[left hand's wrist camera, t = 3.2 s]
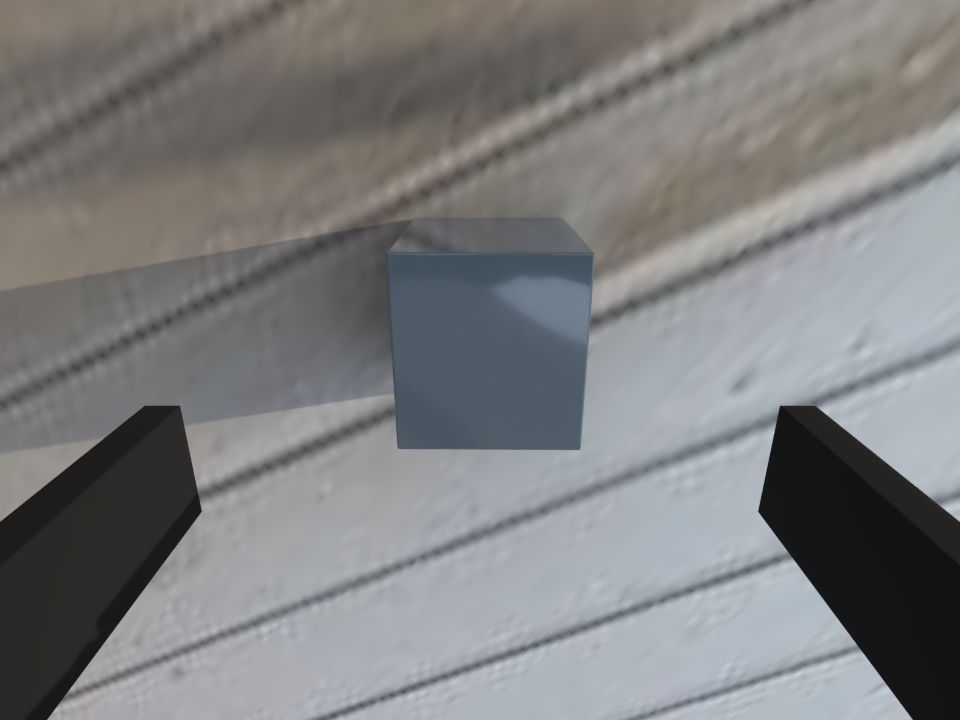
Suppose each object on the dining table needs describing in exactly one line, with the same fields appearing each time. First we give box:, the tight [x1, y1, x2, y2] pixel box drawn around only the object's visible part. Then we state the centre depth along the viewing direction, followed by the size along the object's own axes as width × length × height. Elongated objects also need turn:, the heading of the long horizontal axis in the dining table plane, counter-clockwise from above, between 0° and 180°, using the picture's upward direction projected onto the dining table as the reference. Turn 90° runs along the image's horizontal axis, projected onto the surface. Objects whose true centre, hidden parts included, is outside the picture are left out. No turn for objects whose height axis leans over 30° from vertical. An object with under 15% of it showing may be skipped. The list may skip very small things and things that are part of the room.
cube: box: [386, 219, 595, 450], centre depth 21 cm, size 7×6×7 cm
